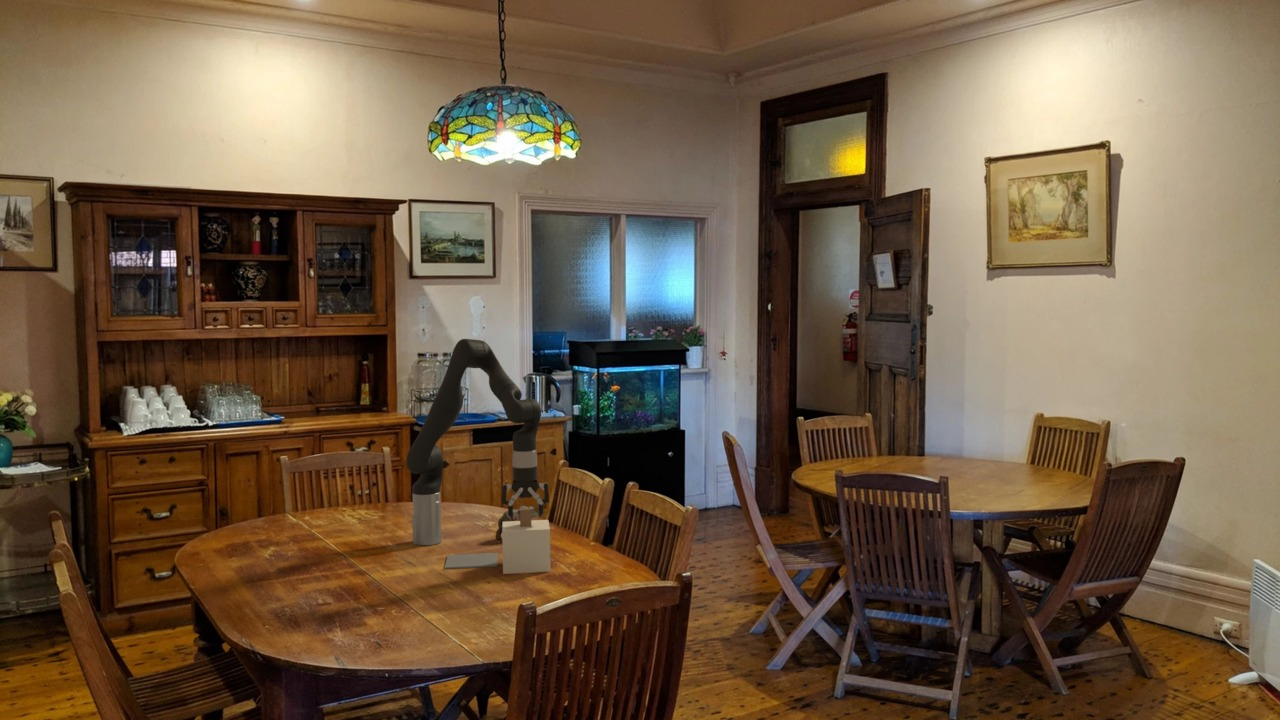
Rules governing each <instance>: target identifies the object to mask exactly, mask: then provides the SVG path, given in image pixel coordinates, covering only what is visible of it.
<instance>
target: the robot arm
mask: <svg viewBox="0 0 1280 720" xmlns="http://www.w3.org/2000/svg"><path fill="white" fill-rule="evenodd" d="M469 368H470V369H480V370H482V371H483V372H484V373H485V374H487V376H488V385H489V389H490V391H491V392H492V394H493V395H494V397H496V398H497V400H499V402H500V403H501V405H502V407H503V410H504V413H505V416H506V418H507V420H508V421H510V422H511V423H513V424H523V426H522V428H521V429H519V430H516V431H514V432H513V435H512V457H511V458H512V463H511V465H512V484H507V483H505V482H504V483H503V484H502V494H501V495H502V496H501V499H502V500H501V504H502V505H506V506H507V511H508V515H509V516H511V518H513V509H514V507H513V505H514V503H515V502H516V501H517V499H518V498H520V499H524V498H526V499H527V498H528V499H531V498H534V500H535V501H536V502H538V503H539V504H538V506H539V510H538V512H539V517H538V518H541V517H542V516H541V515H543V516H544V513H543V512H544V505H545V504H547V503H549V502H550V495H549V493H550V492H549V484H548V482H547V481H544V482H541V483H539V480H538V479H539V478H538V454H537V453H538V452H537V434H538V430H539V425H540V423H541V418H542V408H541V405H540V403H539V401H538V400H536V399H535V398H527V399H522V395H523V394H522V391H521V389H520V388H519V386H518V385H517V384H516V383H515V382H514V381H513V380H512V379H511V378H510V376H509V375H508V374H507V372H506V371H505V370H504V368H503V367H502V365H501V363H500V361H499V359H498V357H497V356H496V354H495V353H494V350H493V349H492V348H491V346H490V345H489V344H488V343H487V342H486V341H484V340H480V339H473V338H472V339H471V338H462V339H460V340H459V341H458V342H457V343H456V344H455V346H454V348H453V350H452V353H451V356H450V360H449V362H448V366H447V368H446V372H445V375H444V378H443V379H442V382H441V384H440V387H439V390H438V392H437V394H436V395H435V397H434V398H433V399H434V400H433V402H432V403H431V406H430V408H429V412H428V413H427V416H426V418H425V420H424V423H423V424H422V426H421V429H420V431H419V433H418V435H417V436H416V439H414V441H413V443H412V445H411V446H410V448H409V450H408V452H407V455H406V460H405V461H406V462H405V463H406V464H405V465H406V468H407V469H408V471H409V472H410V473H411V474H414V475H420V476H419V478H418V479H417V480H416V481H415V482H414V483H413V484H412V485H411V486H412V487H411V489H412V492H411V493H412V518H411V521H412V522H411V523H412V545H413V546H416V545H417V546H433V545H438V544H440V543H442V537H443V536H442V510H441V509H442V508H441V507H442V506H441V505H442V504H441V503H442V502H441V500H442V499H441V486H442V485H443V484H442V483H443V475H444V473H443V471H444V469H443V468H444V458H443V453H442V450H441V449H440V447H439V446H438V445H436V444H437V443H438V442H439V441H440V439H441V438H442V437H443V436H444V435H445V434H446V433H447V432H448V431H449V430H450V429H451V428H452V427H453V425H454V424H455V423H456V420H457V419H458V417H459V415H460V413H461V410H462V408H463V404H464V395H463V391H462V378H463V377H464V374H465V372H466V370H467V369H469ZM539 488H541V490H542V491H543V492H544V498H541V496H540V495H539V494H538V492H537V491H538V490H539ZM510 489H511V490H512V491H513V494H512V496H511V497H510V499H509V500H508V499H507V492H509V491H510Z"/></svg>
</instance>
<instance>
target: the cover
mask: <svg viewBox="0 0 1280 720" xmlns="http://www.w3.org/2000/svg"><path fill="white" fill-rule="evenodd" d="M519 508H520V507H519ZM549 522H550V521H549V519H535V520H533V519H531V508H520V521H506V522H503V524H502V534H501V538H502V539H501V540H502V541H501V542H502V574H503V575H507V574H510V575H511V574H528V573H531V574H532V573H547V572H548V573H549V572H550V573H551V571H552V569H551V530H550V529H551V528H550V523H549Z"/></svg>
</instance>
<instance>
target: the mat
mask: <svg viewBox="0 0 1280 720" xmlns="http://www.w3.org/2000/svg"><path fill="white" fill-rule="evenodd" d="M498 562H499V552H485V553H482V552H481V553H466V554H465V553H463V554H447V557H446V560H445V564H444V570H451V569H453V570H454V569H473V568H474V569H475V568H476V569H477V568H494V567H495V568H496V567H498Z"/></svg>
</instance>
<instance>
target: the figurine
mask: <svg viewBox="0 0 1280 720" xmlns="http://www.w3.org/2000/svg"><path fill="white" fill-rule="evenodd" d="M536 502H537V503H536V508H535V507H533V506H531V505H529V506H526V505H525V504H524V505H520V506H519V508H518V509H514V508H513V518H511V516H509V515H508V510H506V511H505V512H504V513H503V515H502V516H500V518H499V519H498V521H497V527H498V529H496V531H495V539H496V540H502V524H503V522H506V521H520V508H531V520H533V519H534V518H540V517H539V506H538V504H539V503H538V501H536ZM543 516H544V511H543V515H541V517H543Z"/></svg>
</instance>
